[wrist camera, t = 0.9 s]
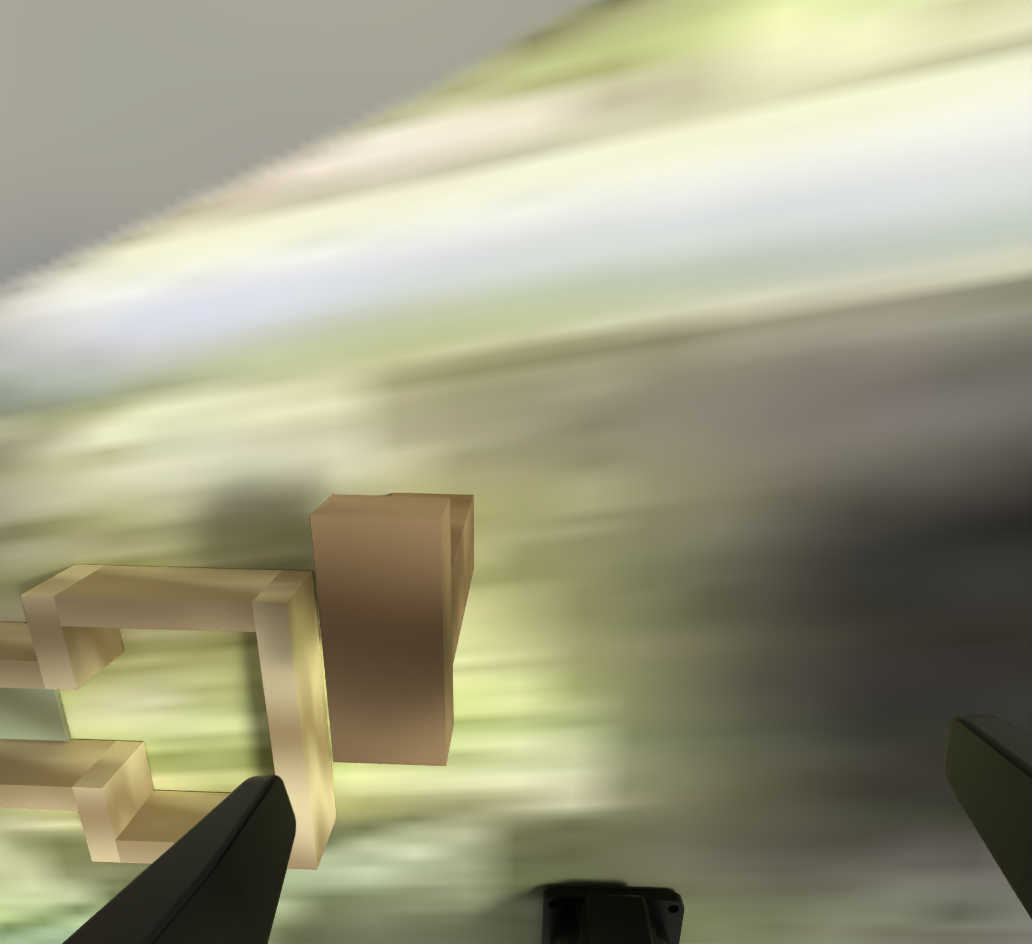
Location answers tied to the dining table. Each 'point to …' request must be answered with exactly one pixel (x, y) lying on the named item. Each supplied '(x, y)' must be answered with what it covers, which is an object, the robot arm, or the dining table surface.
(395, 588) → the tan brick
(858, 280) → the dining table surface
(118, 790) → the keyhole cradle
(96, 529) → the dining table surface
